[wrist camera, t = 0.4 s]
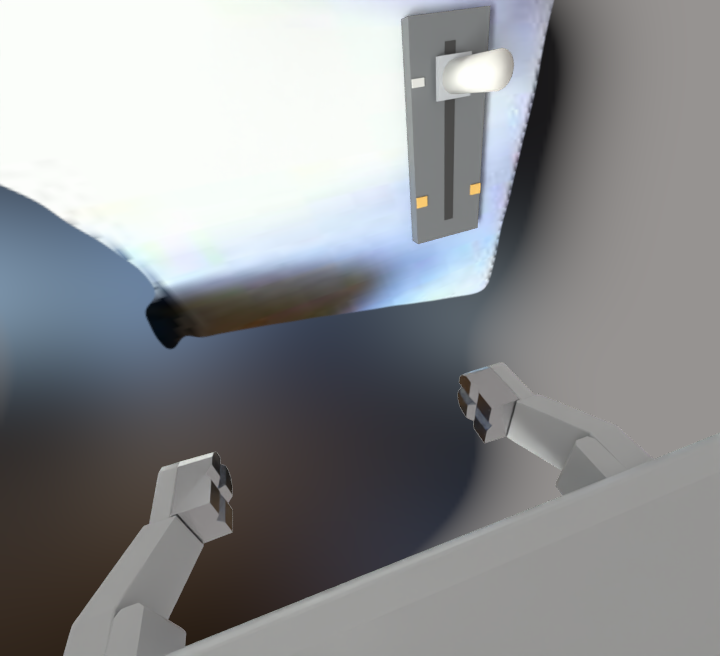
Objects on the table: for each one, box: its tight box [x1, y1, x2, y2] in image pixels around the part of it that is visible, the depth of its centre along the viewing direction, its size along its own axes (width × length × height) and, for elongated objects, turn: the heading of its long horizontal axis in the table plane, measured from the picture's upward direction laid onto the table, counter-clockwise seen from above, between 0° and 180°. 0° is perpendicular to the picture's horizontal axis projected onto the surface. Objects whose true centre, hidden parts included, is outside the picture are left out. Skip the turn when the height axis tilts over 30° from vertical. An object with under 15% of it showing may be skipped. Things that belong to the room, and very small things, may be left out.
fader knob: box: [436, 48, 514, 101], centre depth 44 cm, size 5×5×10 cm
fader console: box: [401, 6, 490, 244], centre depth 53 cm, size 30×12×2 cm, turn 8°
